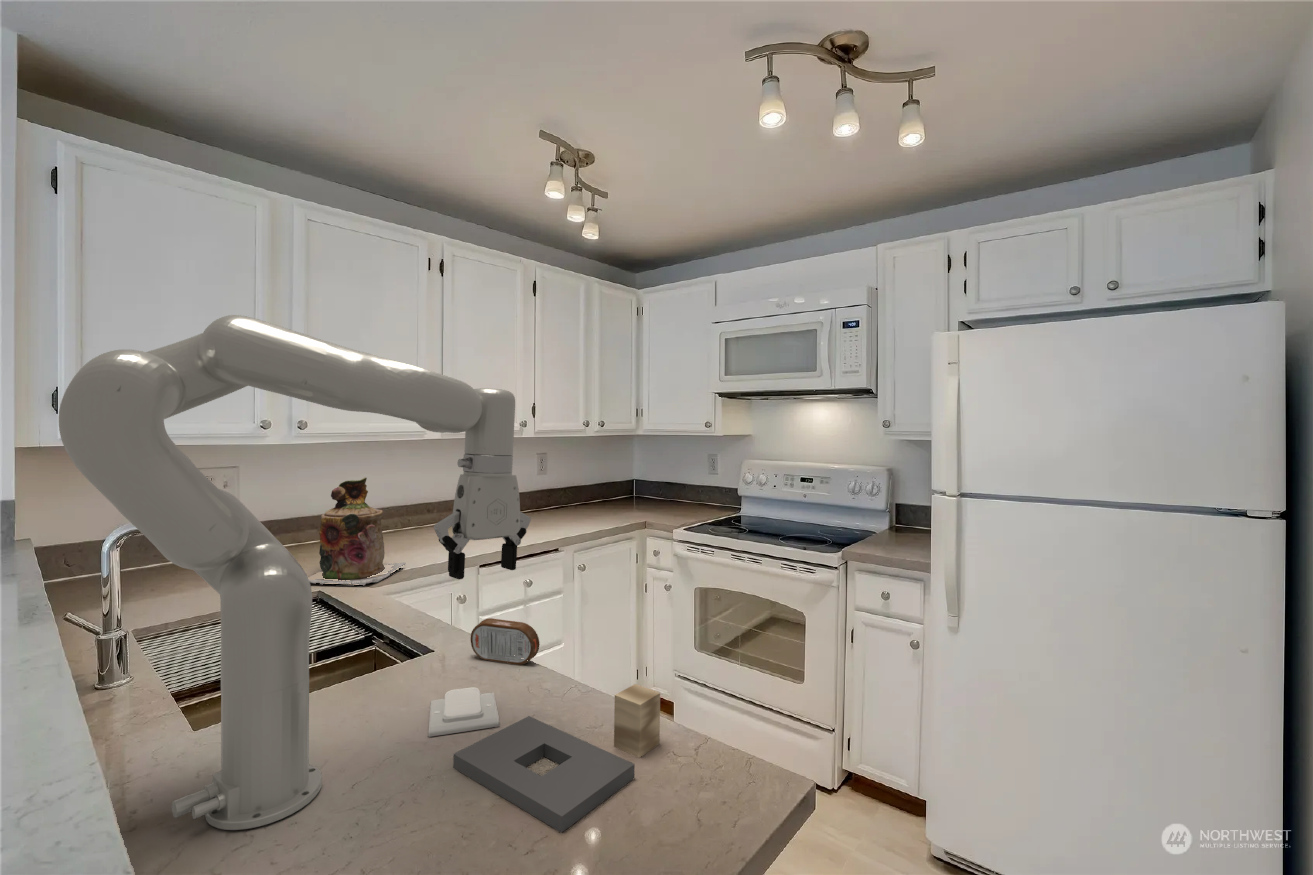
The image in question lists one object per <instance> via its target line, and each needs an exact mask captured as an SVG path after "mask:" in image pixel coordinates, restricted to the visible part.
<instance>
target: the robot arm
mask: <svg viewBox="0 0 1313 875" xmlns="http://www.w3.org/2000/svg"><path fill="white" fill-rule="evenodd" d="M246 387H252V388H255V389H259V390H264V391H267V392H270V393H275V394H279V395H282V396H283V395H284V396H287V397H290V398H293V399H294V398H295V399H297V400H302V401H306V402H310V403H313V404H317V405H320V406H323V407H328V408H332V409H338V410H342V411H346V412H347V411H348V412H358V413H360V412H361V413H371V414H378V415H384V416H389V417H393V418H397V419H400V420H401V419H402V420H405V421H411V422H412V423H416V424H417V425H418V426H419V427H421V428H422V429H424V430H426V431H428V432H433V433H443V434H444V433H447V434H448V433H450V434H458V433H459V434H460V433H464V452H463V453H464V454H463V458H459V459H458V460H457V466H458V468H462V471H463V472H462V474H461V473H460V474H459V478H458V482H457V484H456V488H455V493H454V494H455V495H454V499H453V500H454V501H453V508H452V513H451V514H448V516H446V517H445V518H443V519H441V520H439V521H438V522H436V523H435V524H434V525H433V529H434V532H435V534H436V536H437V538H438V542H439V543H440V544H441V545H442V546H443V547H444V550H446V552H448V556H447V557H448V559H447V571H448V576H449V578H453V579H456V580H463V579H464V577H465V569H466V568H465V567H466V566H465V564H466V554H465V552H462V551H463V549H464V548H465V547H466V546H467V544H468V543H469V542H470V541H482V540H483V541H484V540H491V539H499V538H500V539H501V538H502V540H503V541H504V542H503V543H502V544H501V556H500V567H501V568H503V569H506V570H510V571H515V570H517V569H516V568H517V560H518V556H517V555H518V546H520V545H521V543H522V539H523V538H524V537H525V535H526V534H527V529H528V527H529V526H530V523H531V521H532V519H531V516H529V515H527V514H526V513H524V512H522V511H521V505H520V503H521V501H520V500H521V499H520V490H519V484H518V482H519V481H518V478H517V475H516V474H513V461H514V438H515V417H516V397H515V395H514V393H512V392H511V391H509V390H506V389H498V388H488V387H487V388H485V387H484V388H483V387H481V388H473V387H472V386H471V385H469V384H468V383H466V382H464V381H462V380H459V379H457V378H454V377H450V376H448V375H444V374H441V373H439V372H435V371H433V370H429V369H426V368H422V367H419V366H415V365H413V364H408V363H405V362H401V361H396V360H392V359H388V358H385V357H381V356H378V355H375V354H372V353H369V352H364V351H360V350H356V349H353V348H350V347H346V346H342V345H340V344H337V343H333V342H330V341H326V340H323V339H320V338H317V337H314V336H311V335H307V334H305V333H301V332H299V331H296V330H292V329H290V328H287V327H283V326H281V325H277V324H274V323H271V322H268V321H265V320H261V319H257V318H255V317H251V316H247V315H246V316H245V315H241V314H238V315H237V314H231V315H224V316H221V317H219V318H217V319H215V320H214V321H212V322H211V323H209V325H208V326H207V327H206V328H205V329H204V331H203V332H202V333H199V334H197V335H194V336H191V337H189V338H185V339H183V340H179V341H177V342H174V343H171V344H167V345H164V346H162V347H159V348H155V349H152V350H149V351H143V350H136V349H115V350H110V351H107V352H103V353H101V354H99V355H97V356H95V357H94V358H93V357H92V359H91V360H89V361H87V362H86V363H85V364H84V365H83V366H82V367H81V368H80V369H79V370H78V371H77V372H76V374H75V375H74V377H72V380H71V381H70V382H69V384H68V386H67V388H66V389H65V391H64V393H63V395H62V398H61V402H60V406H59V410H58V427H59V428H58V431H59V435H60V439H61V442H62V444H63V447H64V450H65V452H66V454H67V455H68V457H69V459H70V460H71V462H72V463H73V465H74V466H75V467H76V469H77V470H78V471H79V472H80V473H81V475H83V477H84V478H86V479H87V481H88V482H89V483H90V484H91V485H93V486H94V487H95V489H96V490H97V491H98V492H99V493H100V494H102V495H103V497H105V499H106V500H108V501H109V502H110V504H112V506H114V507H115V508H116V510H118V512H119V513H120V514H122V516H123V517H124V518H125V519H126V520H127V521H129V523H130V524H132V525H133V526H134V527H135V528H136V529H137V531H139V532H140V533H141V534H142V535H143V536H144V537H145V538H146V539H148V541H149V542H150V543H151V544H152V545H153V546H154V547H155V548H156V549H157V550H158V551H159V553H161V555H162V556H163V557H164V558H165V559H167V561H169V562H171V563H172V564H173V565H175V566H178V567H180V568H183V569H185V570H190V571H194V572H195V573H196V574H197V575H198V576H199V577H200V578H201V579H203V580H204V582H206V583H207V584H208V585H209V586H210V587H211V588H212V589H213V590H215V591H216V593H217V594H218V595H219V596H220V598H219V599H220V600H219V601H220V609H219V610H220V695H221V696H220V702H221V703H220V771H218V772H215V773H213V774H212V783H209V784H207V785H204V786H203V790H200V791H196V792H195V793H190V794H187V795H185V796H183V797H179V798H177V799H174V800H172V801H171V812H172V816H173V818H174V819H177V818H180V817H182V816H184V815H186V814H189V813H191V816H192V819H193V820H195V819H198V818H200V817H203V816H205V819H206V822H207V823H208V824H209V825H210V826H211V827H213V828H217V829H219V830H226V831H238V830H239V831H240V830H249V829H253V828H259V827H264V826H266V825H270V824H272V823H275V822H278V821H279V820H280V821H281V820H282V819H284V818H286V817H289V816H291V815H293V814H294V813H296V812H298V811H300V810H301V809H302V808H304V807H305V806H307V805H308V804H309V803H310V802H311V801H312V800H313V799H315V798H316V796H317V795H319V792H320V791H321V788H322V785H323V774H322V772H321V770H320V769H319V768H318V767H316V766H315V765H313V764H309V763H310V634H311V625H312V624H311V621H312V615H313V614H312V610H313V593H312V586H311V583H310V582H309V579H308V577H309V576H308V575H307V573H306V571H305V570H304V568H303V567H302V565H301V564H300V563H299V562H298V560H297V558H296V557H295V556H294V555H293V554H292V553H291V552H290V551H289V549H287V548H286V547H285V546H284V545H283V543H281V542H280V540H278V538H277V537H276V536H274V534H272V532H271V531H270V530H269V529H268V528H267V527H266V526H265V525H264V524H263V523H262V522H261V521H260V519H258V517H256V516H255V515H254V514H253V513H252V512H251V510H249V509H248V507H246V505H245V504H244V503H243V502H241V500H240V499H239V498H237V497H236V496H235V495H234V494H232V493H230V492H228V491H226V490H224V489H220V488H219V487H217V485H215V484H214V483H213V482H212V481H211V480H210V479H209V478H208V477H207V476H206V475H205V474H204V473H203V472H202V471H201V470H200V469H199V468H198V467H197V466H196V465H195V464H194V463H193V461H192V460H191V459H190V458H189V457H188V456H187V455H186V453H184V452H183V450H181V448H180V447H178V446H177V444H176V443H175V442H174V441H173V440H172V439H171V438H170V435H169V434H168V432H167V429H166V426H165V420H166V419H168V418H171V417H174V416H177V415H178V414H181V413H184V412H186V411H190V410H192V409H194V408H197V407H199V406H201V405H204V404H207V403H209V402H212V401H215V400H217V399H221V398H223V397H224V396H227V395H230V394H232V393H235V392H237V391H239V390H242V389H244V388H246ZM450 528H451V529H452V534H453V535H452V536H450V535H449V534H450V533H449V529H450Z"/></svg>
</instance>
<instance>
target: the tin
mask: <svg viewBox="0 0 1313 875" xmlns="http://www.w3.org/2000/svg"><path fill="white" fill-rule="evenodd" d="M470 645H471V649H472V650H473V653H475V655H476V656H477V657H478V658H480V659H482V660H484V661H487V660H489V662H494V661H495V663H501V664H508V665H516V666H521V665H522V666H523V665H525V664H527V663H528V662H530V661H531V660H532V659H534V658H535V657H536V655H537V654H538V652H539V649H540V645H541V644H540V638H539V635H538V633H537V631H536V630H535V629H534V628H533V627H532V626H531V625H530V624H528V623H527V622H522V621H514V620H507V619H506V620H505V619H499V618H493V617H492V618H485V619H483V620H481V621H480V622H479V623H478V624H476V625H475V626H474V627H473V629H472V630H471V632H470ZM514 655H515V656H514ZM521 658H524V659H521ZM527 660H529V661H527Z"/></svg>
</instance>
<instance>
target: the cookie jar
mask: <svg viewBox="0 0 1313 875" xmlns="http://www.w3.org/2000/svg"><path fill="white" fill-rule="evenodd" d="M367 479H368V477H363V478H361V479H359V480H353V479H351V480H345V481H342V482H340V483H339V485H338V486H337V487H335V488H334V489H332V491H331V493H330V497H331V499H332V500H333V501H336V503H335V504H334V505H335V506H334V507H332V508H331V509H329V510H326V511H325V512H324V513H323V514H321V516H320V528H319V531H318V535H319V543H320V546H319V552H318V553H319V554H318V555H320V560H319V568H320V570H317V572H323V573H322V576H323V578H325V579H338V581H333V580H324V579H315V580H309V582H310V584H316V583H320V584H319V585H323V584H325V583H338V584H349V583H351V584H359V585H363V586H365V585H366V584H370V583H379V582H381V581H382V580H384V579H385V578H387V577H389V576H391V575H390V573H391V572H393V571H394V570H396V569H397V568H399V567H401V566H403V565H404V566H406V562H405V561H404V562H397V563H396V562H394V563H393V564H392V563H387V564H388V565H394V566H392V567H391V568H393V569H392V570H390V571H388V573H387V574H384V575H382V576H378V577H371V578H367V577H370V576H372V575H376V574H378V573H380V572H382V571H383V570H384V569H385V567H384V565H383V564H384V563H383V562H384V559H385V543H384V535H383V529H382V521H381V519H382V517H383V516H384V510H382V509H378V508H374V507H372V506H370V505H368V503H367V502H366V498H367V496H368V493H369V491H368V490H367V484H366V482H367ZM339 580H341V581H339ZM342 580H345V581H342ZM346 580H350V581H346ZM363 586H362V587H363Z"/></svg>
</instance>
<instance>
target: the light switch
mask: <svg viewBox="0 0 1313 875" xmlns="http://www.w3.org/2000/svg"><path fill="white" fill-rule="evenodd" d="M428 717H429V719H428V730H427V731H428V733H427V735H428V736H427V737H430V738H431V737H437V736H443V735H450V734H456V733H464V732H465V733H466V732H470V731H477V730H484V729H491V728H497V727H500V717H499V712H498V706H497V700H496V695H495V692H485V693H481V691H480V689H479V688H478V687H474V686H473V687H464V688H463V687H461V688H456V689H451V690H448V691H446V693H445V694H444V698H440V699H432V700H431V701H430V705H429V716H428Z"/></svg>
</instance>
